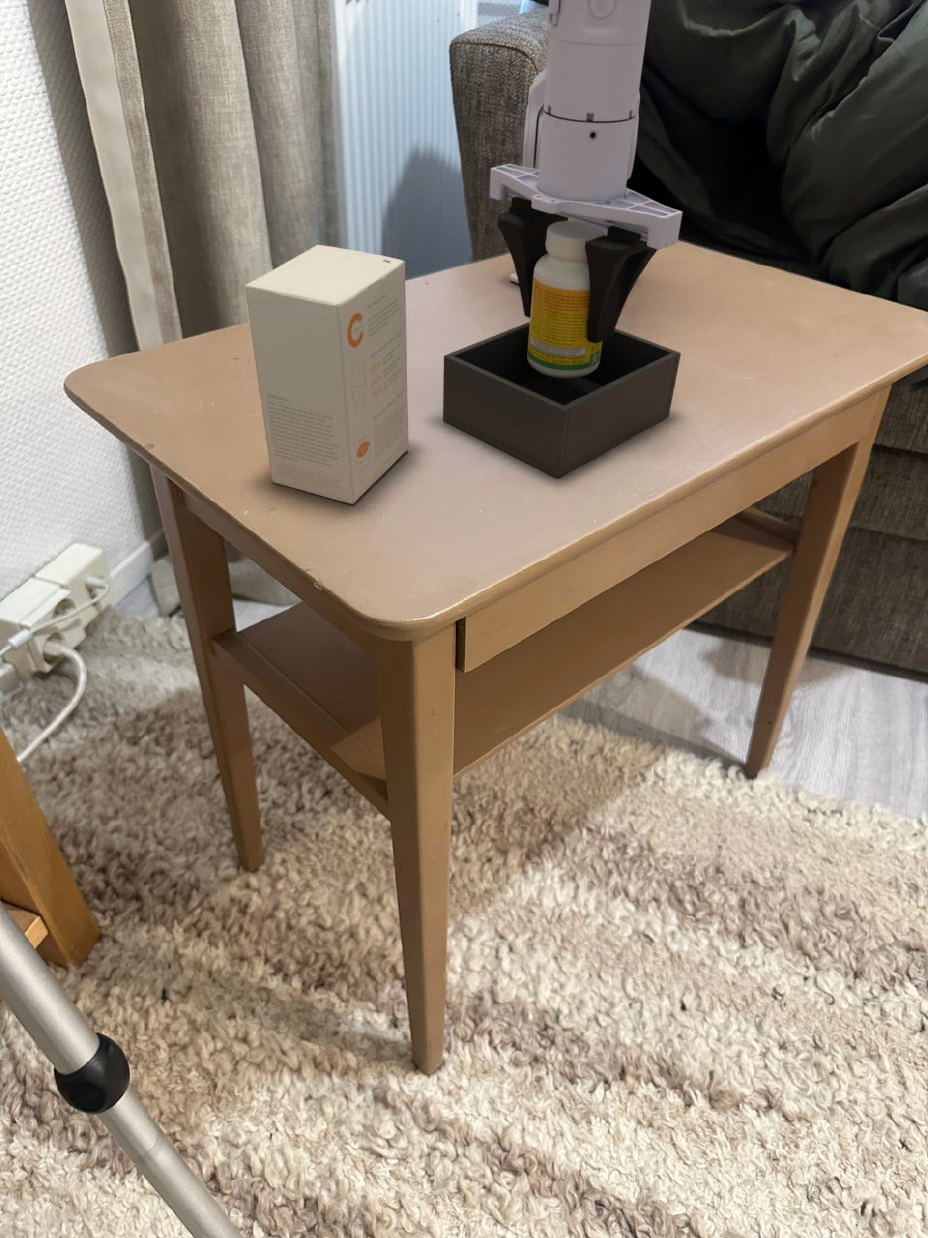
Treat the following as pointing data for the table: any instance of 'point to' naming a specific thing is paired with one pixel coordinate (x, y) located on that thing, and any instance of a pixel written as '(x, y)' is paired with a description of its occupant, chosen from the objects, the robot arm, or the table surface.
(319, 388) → the small box
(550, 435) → the open black bin
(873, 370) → the table surface
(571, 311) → the supplement bottle
